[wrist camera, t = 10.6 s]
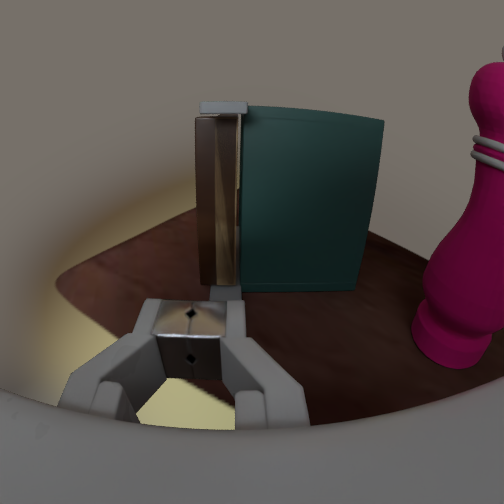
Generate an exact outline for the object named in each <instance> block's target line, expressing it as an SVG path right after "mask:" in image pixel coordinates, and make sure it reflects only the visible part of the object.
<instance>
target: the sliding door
mask: <svg viewBox="0 0 504 504" xmlns="http://www.w3.org/2000/svg"><path fill="white" fill-rule="evenodd" d="M237 152H238V114H220V115H218V116H204V117H197V118H195V170H196V204H197V205H196V207H197V231H198V250H199V267H200V282H201V285H235V284H236V205H237Z"/></svg>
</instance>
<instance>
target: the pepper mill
mask: <svg viewBox="0 0 504 504" xmlns="http://www.w3.org/2000/svg"><path fill="white" fill-rule="evenodd" d="M502 57H503V60H504V47H503V48H502ZM469 106H470V110H471V113H472V115H473V117H474V119H475V121H476V123H477V125H478V127H479V131H480V136H477V135H475V136H474V137H473V141H474V142H475V143H476V144H474V146H473V148H474V150H473V151H471V156H472V158H474V159H476V168H475V179H474V185H473V189H472V193H471V197H470V200H469V203H468V205H467V207H466V209H465V211H464V213H463V215H462V216H461V218H460V219H459V221H458V222H457V223H456V225H455V226H454V227H453V228H452V230H451V231H450V232H449V233H448V234H447V235H446V236H445V238H444V239H443V240H442V241H441V242H440V243H439V245H438V247H437V248H436V250H435V251H434V252H433V254H432V255H431V258H430V260H429V262H428V264H427V267H426V269H425V271H424V274H423V290H424V294H425V297H426V298H425V299H424V300H423V301H422V302H421V303H420V305H419V307H418V310H417V312H416V315H415V317H414V319H413V322H412V326H411V331H412V336H413V339H414V341H415V343H416V345H417V346H418V348H419V349H420V350H421V351H422V352H423V353H424V354H425V355H426V356H427V357H428V358H430V359H431V360H433V361H434V362H436V363H438V364H440V365H442V366H445V367H448V368H454V369H463V368H469V367H471V366H473V365H475V364H476V363H477V362H478V361H479V360H480V358H481V357H482V355H483V354H484V352H485V350H486V349H487V347H488V345H489V344H490V342H491V338H492V333H494V332H496V331H498V330H500V329H502V328H503V327H504V62H496V63H495V62H494V63H490V64H487V65H485V66H483V67H482V68H480V69H479V70H478V71H477V72H476V74H475V75H474V77H473V79H472V82H471V86H470V90H469Z"/></svg>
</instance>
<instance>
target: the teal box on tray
mask: <svg viewBox="0 0 504 504" xmlns="http://www.w3.org/2000/svg"><path fill="white" fill-rule="evenodd" d="M200 114H241V141H240V142H241V143H240V144H241V145H240V187H239V226H236V284H235V285H211V290H210V299H209V301H232V300H242V298H241V292H310V291H349V290H355V286H356V281H357V278H358V274H359V270H360V265H361V261H362V257H363V252H364V248H365V243H366V238H367V233H368V228H369V223H370V218H371V213H372V207H373V202H374V196H375V189H376V183H377V177H378V170H379V163H380V155H381V147H382V138H383V131H384V120H379V119H374V118H368V117H362V116H356V115H349V114H342V113H335V112H327V111H319V110H318V111H317V110H309V109H298V108H285V107H267V106H248V103H247V102H237V101H236V102H235V101H219V102H218V101H213V102H200Z"/></svg>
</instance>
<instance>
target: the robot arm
mask: <svg viewBox="0 0 504 504" xmlns="http://www.w3.org/2000/svg"><path fill="white" fill-rule="evenodd" d="M167 378H181V379H205V380H222V381H223V383H224V384H225V386H226V387H227V389H228V390H229V392H230V393H231V395H232V396H233V398H234V399H235V430H208V429H189V428H176V427H165V426H155V425H147V424H141V423H140V421H139V420H138V417H137V415H136V413H137V412H138V411H139V410H140V408H141V407H142V406H143V405H144V404H145V403H146V402H147V401H148V400H149V398H150V397H151V396H152V395H153V394H154V393H155V392H156V391H157V389H159V388H160V386H161V385H162V384H163V383H164V382H165V381H166V380H167ZM0 504H504V376H503V377H500V378H498V379H496V380H493V381H491V382H489V383H486V384H484V385H481V386H478V387H476V388H473V389H470V390H468V391H465V392H462V393H459V394H456V395H453V396H450V397H447V398H444V399H441V400H438V401H434V402H431V403H428V404H424V405H420V406H417V407H413V408H409V409H405V410H401V411H397V412H392V413H388V414H383V415H379V416H374V417H368V418H363V419H357V420H351V421H345V422H338V423H331V424H323V425H315V426H310V421H309V416H308V410H307V405H306V400H305V395H304V390H303V387H302V386H301V385H300V384H299V383H298V382H297V381H296V380H295V379H294V378H293V377H291V376H290V375H289V374H288V373H287V372H286V371H285V370H284V369H283V368H282V367H281V366H280V365H279V364H278V363H277V362H276V361H275V360H274V359H273V358H272V357H271V356H270V355H269V354H268V353H267V352H266V351H264V350H263V349H262V348H261V347H260V346H259V345H258V344H257V343H256V342H255V341H254V340H253V339H252V338H246V319H245V302H244V300H232V301H193V300H172V299H150V298H147V299H146V300H145V301H144V304H143V306H142V309H141V312H140V314H139V317H138V319H137V322H136V325H135V327H134V330H133V333H127V334H126V335H124V336H123V337H122V338H120V339H119V340H117V341H116V342H115V343H113V344H112V345H110V346H109V347H107V348H106V349H105V350H103V351H102V352H101V353H99V354H98V355H96V356H95V357H93V358H92V359H91V360H89V361H88V362H87V363H85V364H84V365H82V366H81V367H79V368H78V369H77V370H75V371H74V372H72V373H71V375H70V377H69V379H68V381H67V384H66V386H65V388H64V391H63V393H62V395H61V398H60V401H59V403H58V405H57V407H56V406H53V405H49V404H45V403H42V402H39V401H36V400H32V399H29V398H26V397H23V396H20V395H18V394H15V393H12V392H9V391H7V390H4V389H1V388H0Z"/></svg>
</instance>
